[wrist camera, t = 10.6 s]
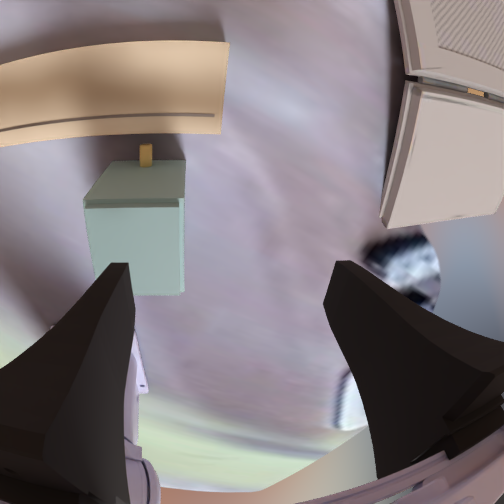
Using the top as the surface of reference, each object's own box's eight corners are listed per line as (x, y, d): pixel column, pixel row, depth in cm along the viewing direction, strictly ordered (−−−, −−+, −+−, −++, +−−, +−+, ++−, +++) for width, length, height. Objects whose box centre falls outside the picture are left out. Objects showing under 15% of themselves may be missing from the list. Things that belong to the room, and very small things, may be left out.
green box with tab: (184, 233, 20) (184, 298, 15) (118, 233, 19) (96, 298, 14) (186, 140, 17) (184, 174, 12) (112, 141, 16) (76, 177, 11)
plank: (218, 128, 17) (220, 134, 15) (-65, 157, 12) (-79, 165, 11) (226, 45, 14) (229, 42, 13) (-70, 94, 10) (-85, 99, 8)
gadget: (487, 207, 25) (511, 224, 22) (374, 221, 23) (398, 246, 20) (501, -6, 13) (530, -4, 10) (373, -65, 11) (402, -79, 8)
